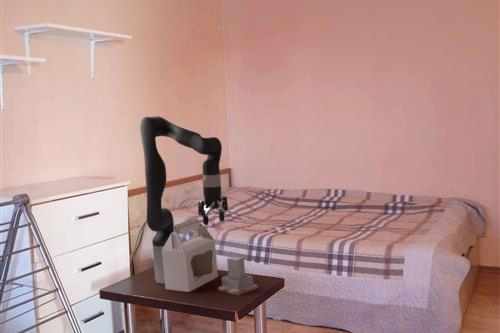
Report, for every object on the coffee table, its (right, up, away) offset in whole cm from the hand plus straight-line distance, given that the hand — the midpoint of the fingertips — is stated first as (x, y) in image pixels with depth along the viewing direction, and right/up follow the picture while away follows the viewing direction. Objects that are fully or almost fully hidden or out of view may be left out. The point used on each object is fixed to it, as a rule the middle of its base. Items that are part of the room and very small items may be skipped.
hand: (214, 223), depth 218 cm
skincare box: (+10, -27, -1) cm, 28 cm away
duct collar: (+10, -27, -1) cm, 28 cm away
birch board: (+10, -28, -1) cm, 30 cm away
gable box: (-11, -28, +13) cm, 33 cm away
